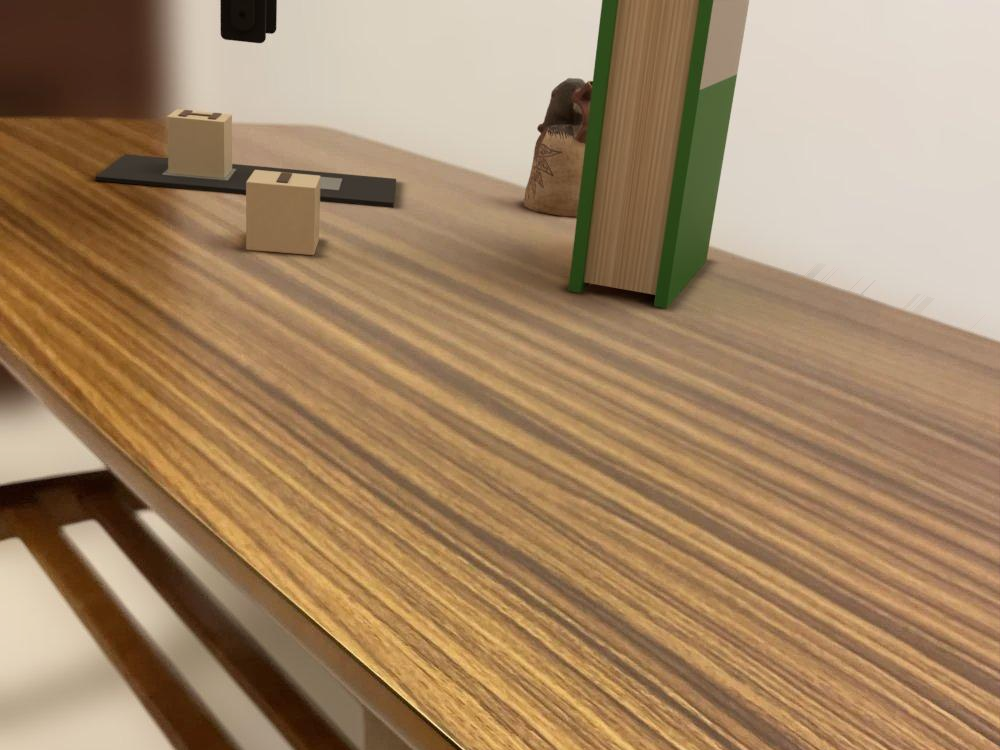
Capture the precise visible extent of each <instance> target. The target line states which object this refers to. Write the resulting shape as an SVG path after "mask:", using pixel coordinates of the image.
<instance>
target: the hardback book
mask: <svg viewBox="0 0 1000 750" xmlns="http://www.w3.org/2000/svg"><path fill="white" fill-rule="evenodd" d="M749 4H750V0H601V7H600V15H599V25H598V33H597V34H598V35H597V41H596V42H597V43H596V51H595V60H594V68H593V76H592V81H593V84H592V92H591V101H590V109H589V118H588V127H587V135H586V144H585V152H584V161H583V169H582V178H581V186H580V195H579V204H578V212H577V217H576V221H575V229H574V239H573V247H572V255H571V264H570V272H569V283H568V288H567V290H568V291H569V292H572V293H573V292H574V293H578V294H580V293H582V292H583V291H584V290H586V289H587V288H588V287H589V286H591V285H596V286H597V285H598V286H603V287H608V288H609V287H610V288H615V289H619V290H626V291H631V292H637V293H643V294H648V295H654V301H653V307H657V308H662V309H663V308H664V309H667V308H668V307H669V306H670V305H671V304H672V302H673V301H674V300H675V299H676V297H677V296H678V295H679V294H680V293H681V292H682V291H683V289H684V288H685V287H686V286H687V285H688V284H689V282H691V280H692V279H693V278H694V277H695V275H696V274H697V273H698V272H699V270H700V269H701V268H702V267H703V266H704V265H705V264H706V262H707V261H708V253H709V248H710V247H709V246H710V241H711V235H712V230H713V224H714V217H715V212H716V206H717V199H718V194H719V187H720V183H721V175H722V171H723V163H724V158H725V157H724V156H725V152H726V151H725V150H726V145H727V139H728V133H729V126H730V120H731V115H732V114H731V113H732V108H733V102H734V95H735V91H736V90H735V88H736V83H737V78H738V71H739V66H740V59H741V54H742V48H743V42H744V36H745V30H746V29H745V28H746V23H747V19H748V18H747V17H748V10H749Z"/></svg>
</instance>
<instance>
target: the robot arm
mask: <svg viewBox="0 0 1000 750" xmlns="http://www.w3.org/2000/svg"><path fill="white" fill-rule="evenodd" d="M219 5H220V8H219V9H220V15H219V16H220V17H219V18H220V37H221V38H222V39H224V40H225V41H234V42H243V43H244V42H245V43H252V44H253V43H254V44H263V43H264V42H265V41H266V38H267V34H269V35H272V34H275V33H276V31H277V16H278V14H277V12H278V0H220V3H219Z"/></svg>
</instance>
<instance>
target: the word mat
mask: <svg viewBox="0 0 1000 750" xmlns="http://www.w3.org/2000/svg"><path fill="white" fill-rule="evenodd" d="M254 170H263V171H274V172H285V173H296V174H307V175H318V176H321V181H320V202H329V203H341V204H342V203H343V204H355V205H364V206H377V207H386V208H387V207H390V208H394V205H395V197H396V188H397V178H393V177H381V176H371V175H370V176H368V175H360V174H359V175H358V174H350V173H349V174H348V173H336V172H327V171H316V170H304V169H292V168H282V167H272V166H260V165H248V164H237V163H236V164H235V163H232V170H231V171H230V172H229V174H228V175H227V176H226V177H225V178H224V179H223V178H211V177H200V176H189V175H178V174H169V172H168V157H162V156H161V157H160V156H151V155H150V156H149V155H139V154H126V153H125V154H124V155H122V156H121V157H120V158H118V159H117V160H115V161H114V162H113V163H111V164H110V165H109V166H108V167H106V168H105V169H104V170H102V171H101V172H100V173H98V174H97V175H96V176H95V181H96V182H103V183H116V184H117V183H118V184H127V185H139V186H150V187H161V188H172V189H183V190H184V189H185V190H196V191H206V192H219V193H229V194H239V195H240V194H242V195H246V182H247V180H248V179H249V177H250V176H251V174H252V173H253V172H254Z"/></svg>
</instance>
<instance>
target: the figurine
mask: <svg viewBox="0 0 1000 750" xmlns="http://www.w3.org/2000/svg"><path fill="white" fill-rule="evenodd" d="M592 84H593V80H588V81H587V82H585V80H584V79H582V78H579V77H578V78H576V77H574V78H573V77H568V78H566V79H565V80H563V81H562V82H560V83H559V84H558V85H556V86H555V87H554V88H553V89H552V90H551V95H550V100H549V103H548V105H547V109H546V112H545V116H544V119H543V122H542V123H539V124H538V126H537V131H538V133H540V134H539V136H538V137H537V139H536V142H535V145H534V150H533V158H532V159H533V160H532V163H531V169H530V174H529V178H528V181H527V184H526V187H525V192H524V198H523V202H524V207H526V208H527V209H529V210H532V211H534V212H538V213H543V214H548V215H553V216H559V217H574V218H577V212H578V204H579V195H580V186H581V178H582V169H583V161H584V152H585V144H586V135H587V127H588V118H589V109H590V101H591V92H592Z"/></svg>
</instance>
